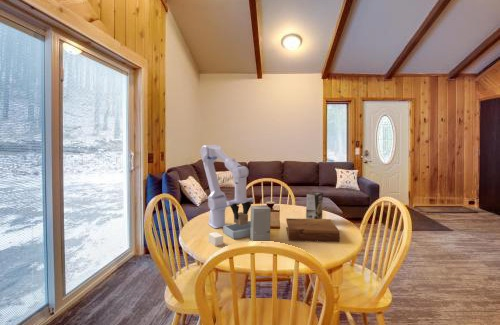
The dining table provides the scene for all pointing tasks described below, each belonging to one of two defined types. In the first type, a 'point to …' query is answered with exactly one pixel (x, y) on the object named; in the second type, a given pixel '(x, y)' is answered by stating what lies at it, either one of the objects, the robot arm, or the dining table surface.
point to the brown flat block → (312, 230)
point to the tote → (237, 230)
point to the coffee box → (314, 205)
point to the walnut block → (241, 219)
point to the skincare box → (260, 223)
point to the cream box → (215, 239)
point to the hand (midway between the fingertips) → (240, 218)
